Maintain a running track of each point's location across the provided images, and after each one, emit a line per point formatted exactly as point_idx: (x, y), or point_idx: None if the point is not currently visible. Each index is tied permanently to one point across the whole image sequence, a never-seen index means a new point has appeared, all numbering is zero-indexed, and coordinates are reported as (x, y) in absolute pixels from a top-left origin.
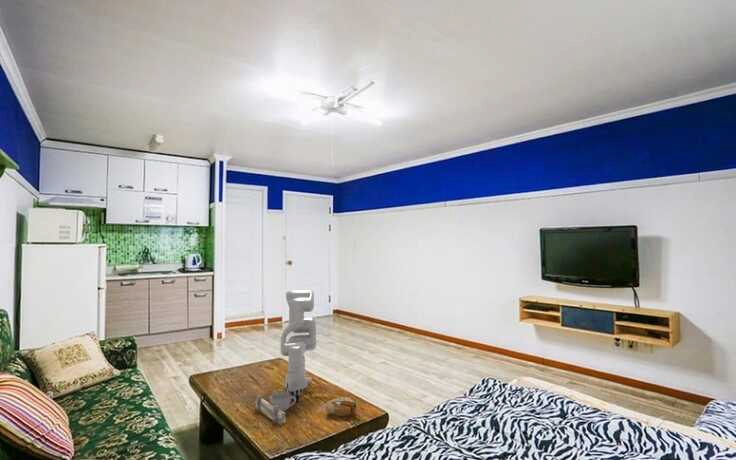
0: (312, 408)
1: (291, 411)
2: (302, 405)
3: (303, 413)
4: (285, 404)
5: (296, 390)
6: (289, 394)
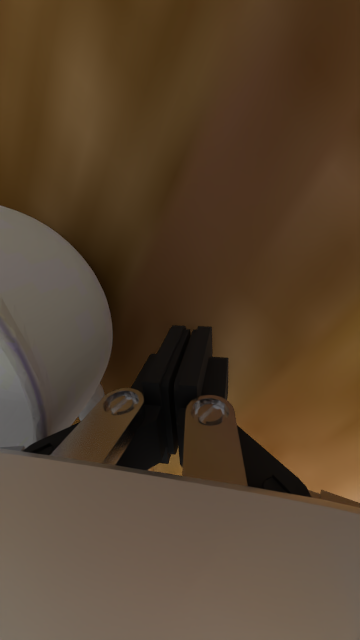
0: (289, 466)
1: (119, 384)
2: (267, 364)
3: (178, 468)
4: (7, 440)
5: (197, 475)
6: (34, 436)
